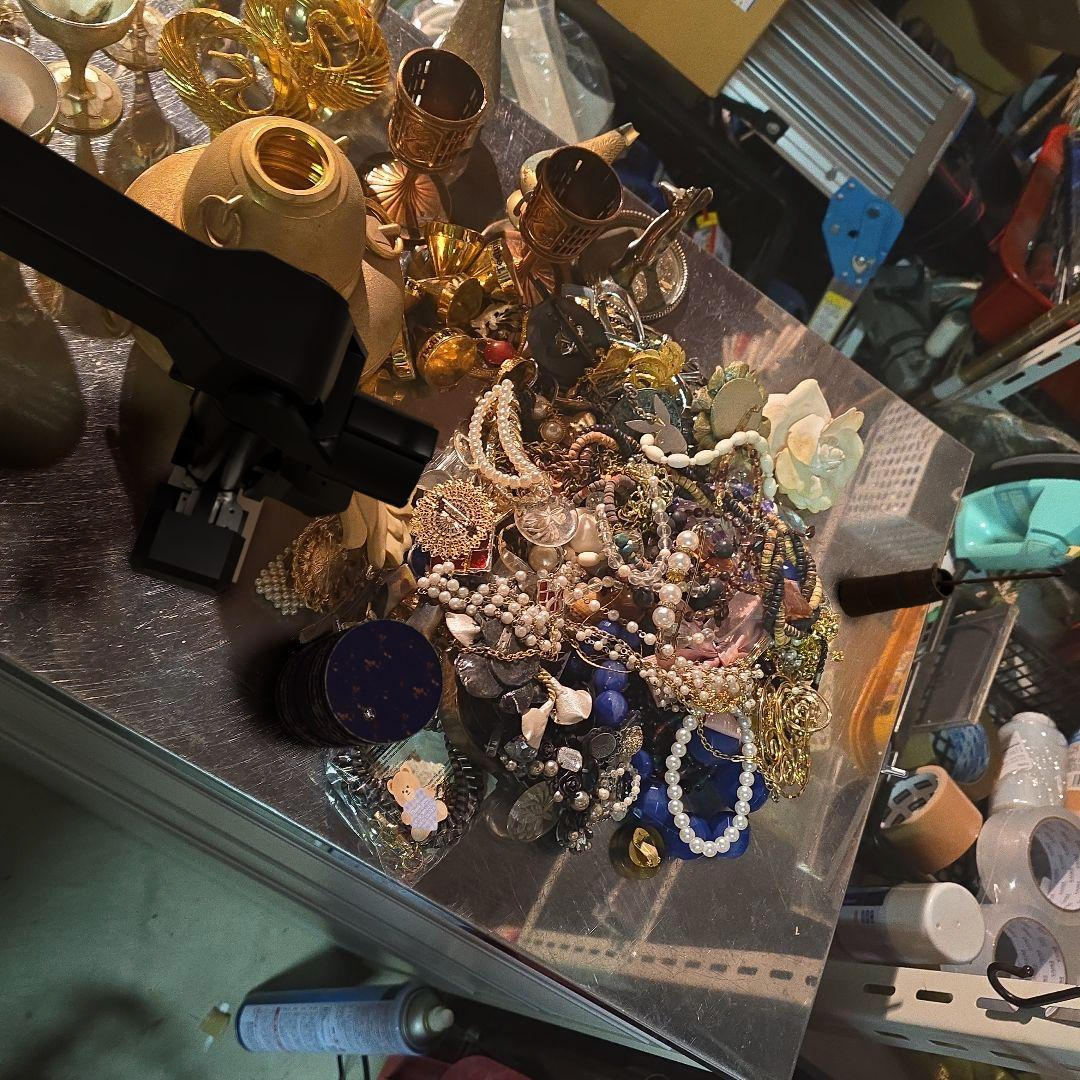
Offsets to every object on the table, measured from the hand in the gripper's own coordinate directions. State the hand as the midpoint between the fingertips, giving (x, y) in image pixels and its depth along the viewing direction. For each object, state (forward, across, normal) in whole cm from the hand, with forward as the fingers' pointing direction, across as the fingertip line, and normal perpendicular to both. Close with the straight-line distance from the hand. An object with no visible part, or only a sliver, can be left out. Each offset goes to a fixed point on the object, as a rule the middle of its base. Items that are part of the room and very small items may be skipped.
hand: (202, 485), depth 67 cm
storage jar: (+14, -10, -17) cm, 24 cm away
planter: (+4, 0, 0) cm, 4 cm away
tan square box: (+13, 0, -2) cm, 14 cm away
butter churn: (+15, +21, -81) cm, 85 cm away
